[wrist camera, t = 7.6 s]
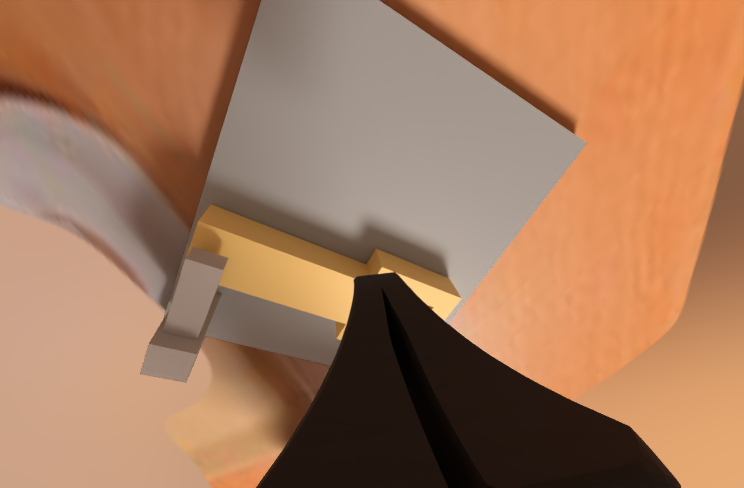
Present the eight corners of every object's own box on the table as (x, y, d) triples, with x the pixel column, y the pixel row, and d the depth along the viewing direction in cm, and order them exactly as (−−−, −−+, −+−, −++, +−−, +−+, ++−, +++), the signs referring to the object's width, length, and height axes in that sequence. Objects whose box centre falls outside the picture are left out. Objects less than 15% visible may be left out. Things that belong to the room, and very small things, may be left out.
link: (449, 278, 21) (461, 298, 19) (405, 337, 23) (412, 360, 21) (218, 183, 16) (206, 197, 14) (187, 269, 18) (173, 291, 16)
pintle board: (400, 372, 26) (419, 442, 21) (167, 314, 20) (121, 392, 15) (574, 139, 18) (663, 166, 14) (284, -58, 13) (264, -130, 8)
